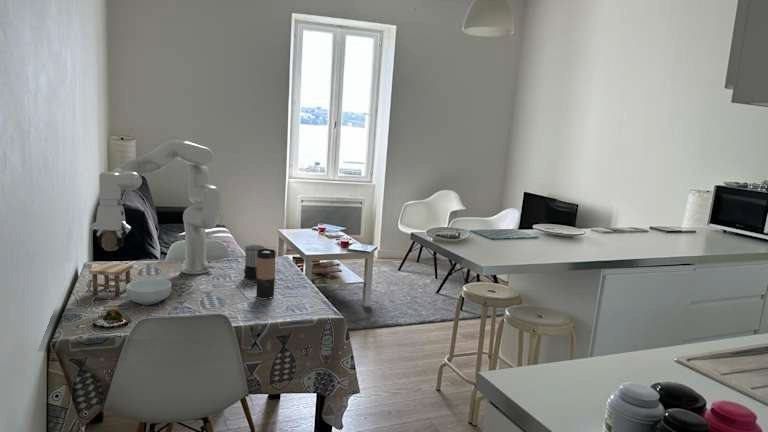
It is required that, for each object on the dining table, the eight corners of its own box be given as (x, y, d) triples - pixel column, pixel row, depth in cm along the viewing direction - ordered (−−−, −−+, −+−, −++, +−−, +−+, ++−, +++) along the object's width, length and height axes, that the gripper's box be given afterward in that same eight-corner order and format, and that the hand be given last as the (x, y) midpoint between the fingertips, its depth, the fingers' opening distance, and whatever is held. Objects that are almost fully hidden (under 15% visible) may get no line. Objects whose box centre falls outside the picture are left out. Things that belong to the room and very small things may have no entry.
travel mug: (277, 295, 232) (279, 250, 229) (268, 300, 225) (269, 254, 222) (262, 292, 234) (263, 248, 231) (252, 297, 227) (253, 251, 224)
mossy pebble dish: (85, 327, 186) (84, 307, 184) (108, 316, 197) (107, 297, 196) (116, 332, 184) (116, 311, 182) (137, 320, 195) (137, 301, 194)
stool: (133, 288, 229) (133, 264, 227) (119, 297, 217) (118, 272, 215) (105, 286, 229) (104, 262, 227) (89, 295, 217) (88, 270, 215)
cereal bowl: (126, 296, 219) (126, 279, 218) (170, 293, 226) (170, 277, 225) (125, 310, 204) (125, 292, 203) (172, 306, 211) (172, 289, 210)
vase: (123, 248, 223) (123, 227, 222) (114, 252, 216) (113, 230, 215) (108, 247, 224) (107, 226, 222) (97, 250, 217) (97, 229, 215)
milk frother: (253, 281, 250) (254, 250, 248) (230, 274, 258) (230, 244, 256) (275, 275, 262) (276, 245, 260) (251, 269, 270) (252, 240, 268)
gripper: (136, 202, 220) (136, 245, 223) (93, 200, 220) (94, 242, 223) (127, 205, 213) (127, 249, 216) (83, 202, 213) (84, 246, 216)
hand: (111, 245), depth 220 cm, fingers closed on vase, 7 cm apart
